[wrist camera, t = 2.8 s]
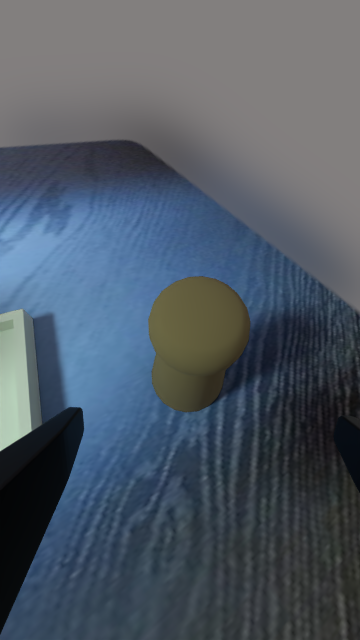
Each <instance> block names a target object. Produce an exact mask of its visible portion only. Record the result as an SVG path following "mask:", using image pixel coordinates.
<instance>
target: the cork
mask: <svg viewBox="0 0 360 640" xmlns="http://www.w3.org/2000/svg"><path fill="white" fill-rule="evenodd" d="M148 323H149V336H150V340H151V342H152V345H153V347H154V349H155V352H156V356H155V360H154V365H153V369H152V384H153V387H154V389H155V392H156V394H157V395H158V397H159V398H160V399H161V400H162V401H163V403H164V404H166V405H168V406H169V407H171V408H173V409H174V410H178V411H183V412H194V411H199V410H201V409H203V408H206V407H208V406H209V405H210V404H211V403H212V402H213V401H214V400H215V399H216V398H217V397H218V395H219V393H220V391H221V389H222V385H223V381H224V376H225V371H226V369H227V368H229V367H230V366H231V365H232V364H233V363H234V362H235V361H236V360H237V359H238V358H239V357H240V356H241V355H242V353H243V351H244V349H245V347H246V345H247V343H248V341H249V331H250V318H249V314H248V310H247V307H246V306H245V304H244V303H243V301H242V299H241V298H240V296H239V295H238V294H237V293H236V292H235V291H234V290H233V289H232V288H231V287H229V286H228V285H227V284H225V283H223V282H221V281H219V280H217V279H213V278H208V277H203V276H199V277H188V278H185V279H182V280H179V281H176V282H174V283H173V284H171V285H170V286H168V287H167V288H166V289H164V290H163V291H162V292H161V293H160V295H159V296H158V297H157V299H156V300H155V301H154V304H153V306H152V309H151V313H150V316H149V319H148Z"/></svg>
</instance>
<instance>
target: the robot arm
mask: <svg viewBox="0 0 360 640" xmlns="http://www.w3.org/2000/svg"><path fill="white" fill-rule="evenodd" d="M83 432H84V421H83V411H82V409H81V408H80V407H69V408H67V409H66V410H64V411H62V412H61V413H59V414H58V415H56V416H55V417H53V418H51V419H50V420H48V421H47V422H45V423H44V424H42V425H40V426H39V427H37V428H36V429H34V430H33V431H31V432H29V433H28V434H26V435H25V436H23V437H22V438H20V439H18V440H17V441H15V442H14V443H12V444H11V445H9V446H7V447H6V448H4V449H3V450H1V451H0V634H1V632H2V629H3V627H4V625H5V622H6V620H7V618H8V616H9V613H10V611H11V609H12V607H13V604H14V602H15V600H16V597H17V595H18V593H19V591H20V588H21V586H22V584H23V582H24V579H25V577H26V575H27V573H28V570H29V568H30V566H31V563H32V561H33V559H34V557H35V554H36V552H37V550H38V548H39V545H40V543H41V541H42V538H43V536H44V534H45V532H46V529H47V527H48V525H49V523H50V520H51V518H52V516H53V513H54V511H55V509H56V507H57V504H58V502H59V500H60V498H61V495H62V493H63V491H64V489H65V486H66V484H67V481H68V479H69V476H70V473H71V470H72V467H73V464H74V461H75V458H76V455H77V452H78V449H79V445H80V442H81V439H82V436H83ZM334 441H335V444H336V446H337V448H338V450H339V452H340V454H341V456H342V458H343V460H344V462H345V465H346V467H347V469H348V471H349V473H350V475H351V477H352V479H353V481H354V483H355V485H356V487H357V489H358V491H359V492H360V420H359V419H357V418H355V417H353V416H340V417H339V418H338V421H337V424H336V428H335V432H334Z"/></svg>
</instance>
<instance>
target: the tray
mask: <svg viewBox="0 0 360 640" xmlns="http://www.w3.org/2000/svg"><path fill="white" fill-rule="evenodd" d="M40 425H42V415H41V404H40V393H39V382H38V371H37V360H36V348H35V337H34V326H33V318H32V317H31V316H30V315H29V314H28V313H27V312H26V311H25V310H24V309H20V310H15V311H11V312H7V313H3V314H0V451H1V450H3V449H4V448H6V447H7V446H9V445H11V444H12V443H14V442H15V441H17V440H18V439H20V438H22V437H23V436H25V435H26V434H28V433H29V432H31V431H33V430H34V429H36V428H37V427H39V426H40Z"/></svg>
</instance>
